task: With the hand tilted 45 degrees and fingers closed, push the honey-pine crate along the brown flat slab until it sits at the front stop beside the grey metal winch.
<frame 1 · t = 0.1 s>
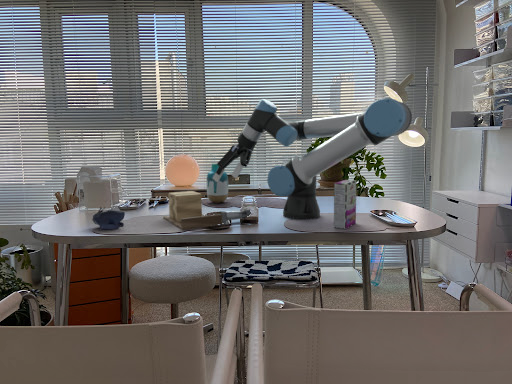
hand: (224, 178, 166), 15 cm above the table, tool tilted 35°, fingers open, 13 cm apart
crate: (185, 218, 159), point 1 cm above the table, touching brown flat slab
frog: (109, 228, 147), on the table
brown flat slab: (190, 222, 154), on the table
winch: (235, 223, 152), on the table
vase: (217, 202, 199), on the table
candy bar box: (344, 226, 147), on the table
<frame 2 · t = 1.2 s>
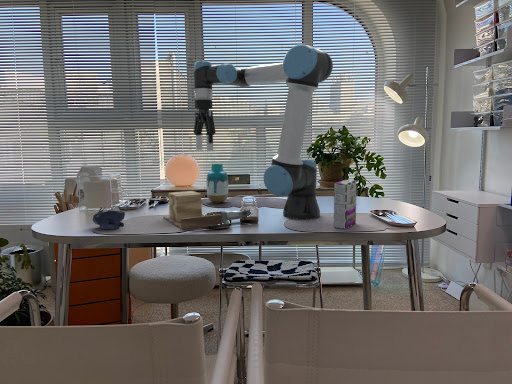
hand: (204, 150, 174), 27 cm above the table, tool pointing down, fingers open, 12 cm apart
nothing on the table moved.
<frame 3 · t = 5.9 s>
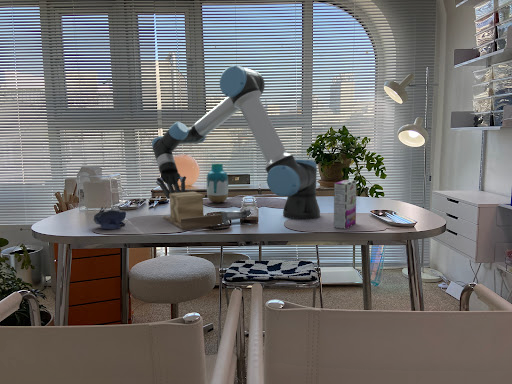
hand: (180, 210, 162), 3 cm above the table, tool tilted 45°, fingers closed
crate: (186, 219, 157), point 1 cm above the table, touching brown flat slab, gripper
everything else where it was.
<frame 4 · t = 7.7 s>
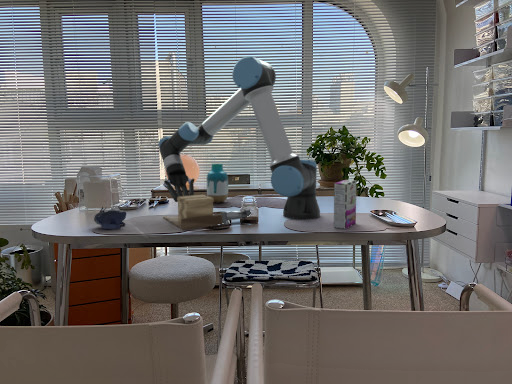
hand: (189, 214, 154), 3 cm above the table, tool tilted 45°, fingers closed
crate: (195, 223, 149), point 1 cm above the table, touching gripper
everything else where it was.
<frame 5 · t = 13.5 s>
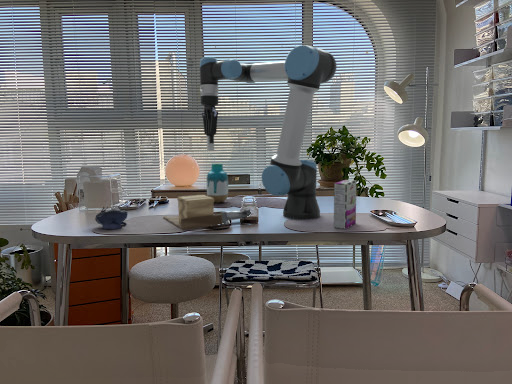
hand: (210, 150, 175), 26 cm above the table, tool pointing down, fingers closed
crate: (196, 223, 149), point 1 cm above the table, touching brown flat slab
everything else where it was.
at the end: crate inside the target area (1.6 cm from its centre), point 0.6 cm above the table; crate tilted 0° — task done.
